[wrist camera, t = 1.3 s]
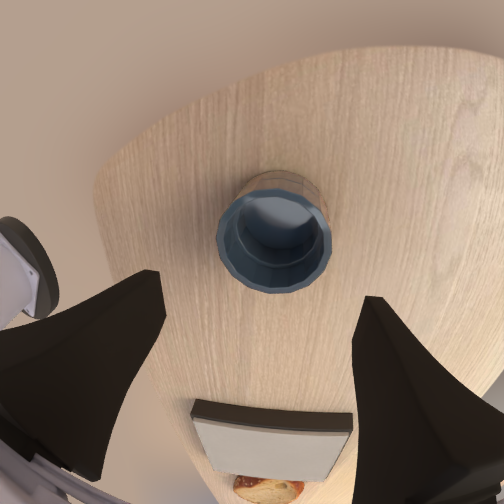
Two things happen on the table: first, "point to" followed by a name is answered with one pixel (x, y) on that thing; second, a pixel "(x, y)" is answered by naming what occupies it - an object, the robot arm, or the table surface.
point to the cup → (276, 233)
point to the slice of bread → (267, 490)
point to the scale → (271, 440)
